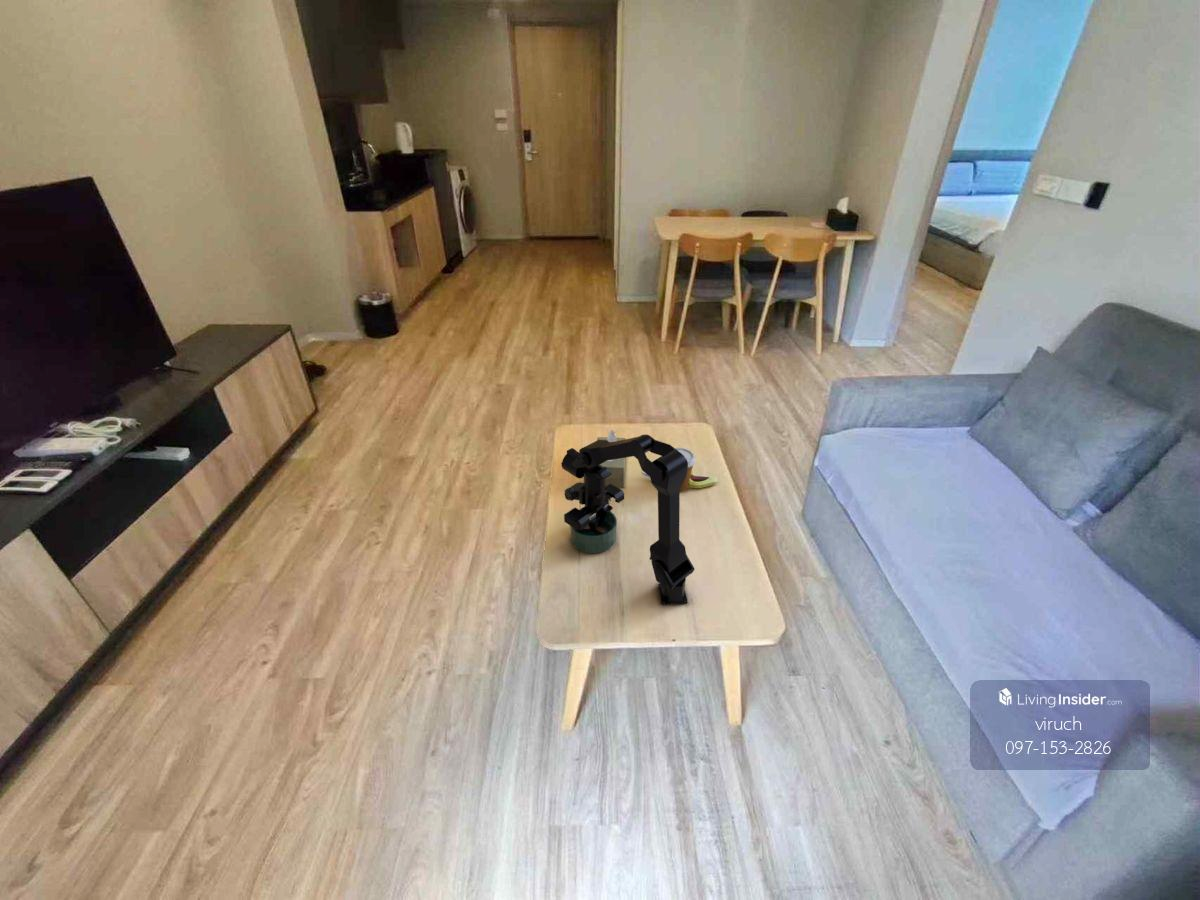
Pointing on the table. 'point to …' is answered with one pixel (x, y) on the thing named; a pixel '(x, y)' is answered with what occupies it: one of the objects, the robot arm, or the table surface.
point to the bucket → (596, 537)
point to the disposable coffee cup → (691, 461)
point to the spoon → (598, 531)
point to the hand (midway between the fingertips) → (595, 529)
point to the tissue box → (614, 464)
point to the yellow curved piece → (697, 480)
